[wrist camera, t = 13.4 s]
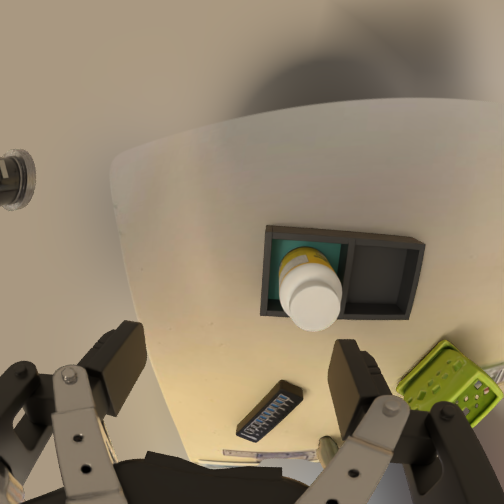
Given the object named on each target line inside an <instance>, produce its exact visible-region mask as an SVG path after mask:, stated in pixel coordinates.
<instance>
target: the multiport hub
mask: <svg viewBox="0 0 504 504" xmlns="http://www.w3.org/2000/svg"><path fill="white" fill-rule="evenodd" d="M302 401H303V390H302V389H301V388H299V387H297V386H295V385H292V384H290V383H288V382H286V381H284V380H280V381H279V382H278V383H277V384H276V385H275V386H274V388H273V389H272V390H271V391H270V392H269V393H268V394H267V395H266V396H265V397H264V398H263V399H262V400H261V402H260V403H259V404H258V405H257V406H256V407H255V408H254V409H253V410H252V411H251V412H250V413H249V414H248V415H247V416H246V417H245V418H244V419H243V420H242V421H241V422H240V423H239V424H238V425H237V430H236V435H237V436H239V437H241V438H244V439H246V440H249V441H252V442H255V443H256V442H258V441H259V440H260V439H262V438H263V437H264V436H265V435H266V434H267V433H268V432H270V431H271V430H272V429H273V428H274V427H275V426H276V425H277V424H278V423H280V422H281V421H282V420H283V419H284V418H285V417H286V416H287V415H288V414H289V413H290V412H291V411H292V410H293V409H294V408H295V407H296V406H297V405H299V404H300V403H301V402H302Z"/></svg>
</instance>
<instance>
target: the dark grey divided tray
mask: <svg viewBox="0 0 504 504" xmlns="http://www.w3.org/2000/svg"><path fill="white" fill-rule="evenodd" d="M301 246H309V247H313V248H316V249H318V250H319V251H320V252H322V253H323V254H324V255H325V257H326V258H327V260H328V262H329V263H330V265H331V267H332V268H333V270H334V272H335V273H336V275H337V276H338V278H339V280H340V283H341V286H342V298H341V302H340V313H339V315H338V317H337V319H347V320H409V317H410V313H411V309H412V306H413V302H414V298H415V294H416V289H417V285H418V281H419V276H420V271H421V266H422V261H423V256H424V250H425V244H424V243H422V242H420V241H418V240H416V239H415V238H413V237H406V236H395V235H385V234H374V233H363V232H351V231H339V230H326V229H313V228H299V227H285V226H270V225H266V230H265V245H264V261H263V277H262V292H261V307H260V316H275V317H289V316H288V315H287V314H286V312H285V311H284V309H283V308H282V305H281V302H280V297H279V266H280V263H281V260H282V259H283V257H284V256H285V255H286V254H287V253H288V252H289V251H290V250H292V249H294V248H297V247H301Z"/></svg>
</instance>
